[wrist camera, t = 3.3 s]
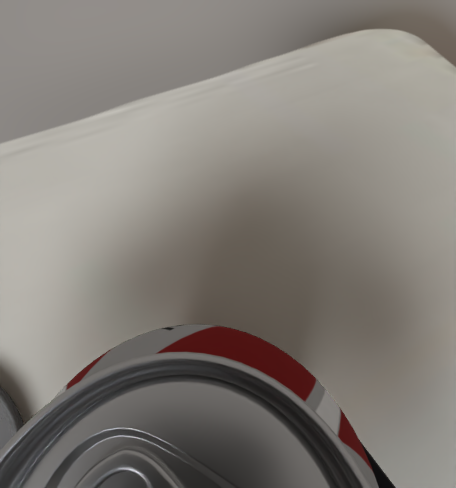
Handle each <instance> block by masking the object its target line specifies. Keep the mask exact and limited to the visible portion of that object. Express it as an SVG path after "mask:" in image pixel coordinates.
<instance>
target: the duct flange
mask: <svg viewBox="0 0 456 488" xmlns="http://www.w3.org/2000/svg"><path fill="white" fill-rule="evenodd" d="M22 427H23V422H22V419H21V416H20V414H19V412H18V410H17V408H16V406H15V404H14V402H13V401H12V400H11V398H10V397H9V395H8V394H7V392H5V391H4V390H3V389H2V388H1V387H0V450H1V449H2V448H3V447H4V446H5V445H6V444H7V443H8V441H9V440H10V439H11V438H12V437H13V436H14V435H15V434H16V433H17V432H18V431H19V429H20V428H22Z"/></svg>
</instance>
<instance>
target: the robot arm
mask: <svg viewBox="0 0 456 488" xmlns="http://www.w3.org/2000/svg"><path fill="white" fill-rule="evenodd" d="M359 441H360V440H359ZM360 443H361V442H360ZM361 445H362V447H363V449H364V451H365V453H366V456H367V458H368V460H369V463H370V465H371V467H372V470H373V473H374V475H375V478H376V481H377V484H378V487H379V488H395V486H394V485H393V484H392V482H391V481H390V480H389V478H388V477H387V476H386V475H385V473H384V472H383V471H382V469H381V468H380V467H379V465H378V464H377V463H376V461H375V460H374V459H373V457H372V456H371V455H370V454H369V452H368V451H367V450H366V448H365V447H364V446H363V444H362V443H361Z"/></svg>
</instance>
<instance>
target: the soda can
mask: <svg viewBox="0 0 456 488" xmlns="http://www.w3.org/2000/svg"><path fill="white" fill-rule="evenodd" d="M0 488H379V487H378V484H377V481H376V478H375V475H374V473H373V470H372V467H371V465H370V463H369V460H368V458H367V456H366V453H365V451H364V449H363V447H362V445H361V443H360V441H359V439H358V437H357V435H356V433H355V431H354V430H353V428H352V426H351V424H350V423H349V421H348V420H347V418H346V417H345V415H344V413H343V412H342V410H341V409H340V407H339V406H338V405H337V403H336V402H335V401H334V399H333V398H332V397H331V395H330V394H329V393H328V391H327V390H326V389H325V388H324V387H323V386H322V385H321V384H320V383H319V381H318V380H317V379H316V378H315V377H314V376H313V375H312V374H311V373H310V372H309V371H308V370H306V369H305V368H304V367H303V366H302V365H301V364H300V363H298V362H297V361H296V360H295V359H293V358H292V357H291V356H289V355H288V354H287V353H285V352H283V351H282V350H280V349H279V348H277V347H276V346H274V345H272V344H270V343H268V342H266V341H264V340H262V339H261V338H258V337H256V336H253V335H251V334H248V333H246V332H242V331H239V330H235V329H232V328H227V327H221V326H216V325H203V324H195V325H179V326H171V327H167V328H162V329H158V330H154V331H151V332H148V333H145V334H142V335H139V336H137V337H135V338H132V339H130V340H128V341H125V342H123V343H122V344H120V345H118V346H116V347H114V348H113V349H111V350H109V351H108V352H106V353H105V354H103V355H102V356H100V357H99V358H97V359H96V360H94V361H93V362H92V363H90V364H89V365H88V366H87V367H86V368H84V369H83V370H82V371H81V372H79V373H78V374H77V375H76V376H75V377H74V378H73V379H72V380H71V381H70V382H69V383H68V384H67V385H66V386H65V387H64V388H63V389H62V390H61V391H60V392H59V393H58V394H57V396H56V397H55V398H54V399H53V400H52V401H51V402H50V403H48V404H47V405H46V406H45V407H44V408H42V409H41V410H40V411H39V412H37V413H36V414H35V415H34V416H33V417H32V418H31V419H30V420H29V421H28V422H27V423H26V424H25V425H24V426H23V427H22V428H20V429H19V431H18V432H17V433H16V434H15V435H14V436H13V437H12V438H11V439H10V440H9V441H8V443H7V444H6V445H5V446H4V447H3V448H2V449H1V450H0Z"/></svg>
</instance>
